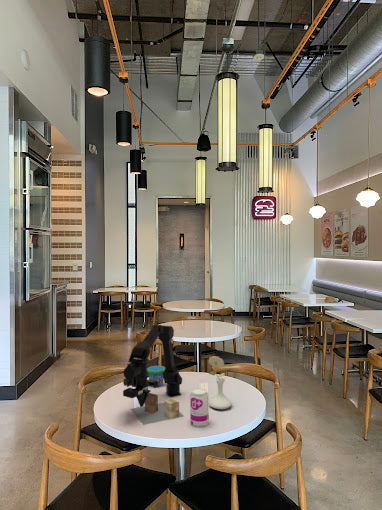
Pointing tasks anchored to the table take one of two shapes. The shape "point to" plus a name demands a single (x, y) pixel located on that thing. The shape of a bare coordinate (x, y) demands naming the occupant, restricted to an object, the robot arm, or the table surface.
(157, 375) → the snack cup
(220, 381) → the flower in vase
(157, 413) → the slate mat
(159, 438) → the table surface
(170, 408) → the oak block
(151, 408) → the walnut block
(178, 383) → the robot arm
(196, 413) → the supplement can
